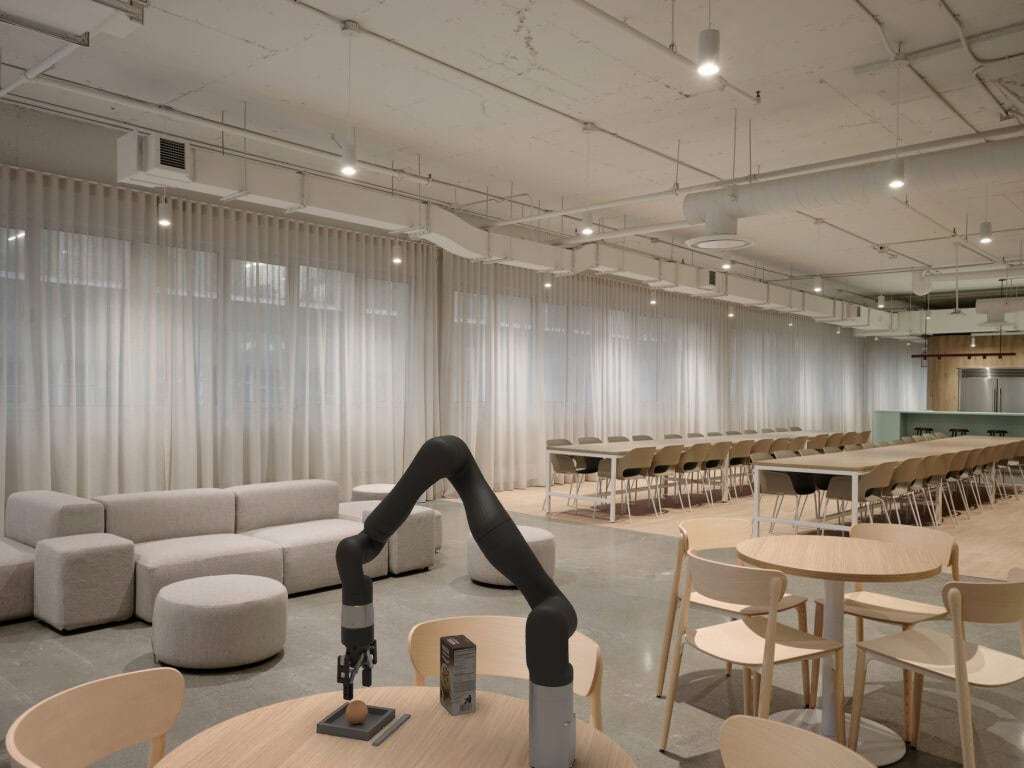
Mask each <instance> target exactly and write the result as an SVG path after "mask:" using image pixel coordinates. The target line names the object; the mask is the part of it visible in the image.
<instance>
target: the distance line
mask: <svg viewBox="0 0 1024 768" xmlns="http://www.w3.org/2000/svg"><path fill="white" fill-rule="evenodd" d="M410 718H411V713H410V714H409V713H404V714H402V715H401V716H400V717H399V718H398V719H397V720H396V721H394V723H392V724H391V725H390V726H389V727H388V728H387V729H386V730H385V731H383V732H382V733H381V734H380V735H379V736H377V738H376V739H374V740H373V741H372V743H371V746H373V747H379V746H380V745H381V744H383V743H384V742H385V741H386V740H387V739H388V738H390V736H392V734H393V733H395V732H396V731H397V730H398V729H399V728H401V726H402V725H403V724H405V723H406V722H407V721H408V720H409V719H410Z"/></svg>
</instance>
